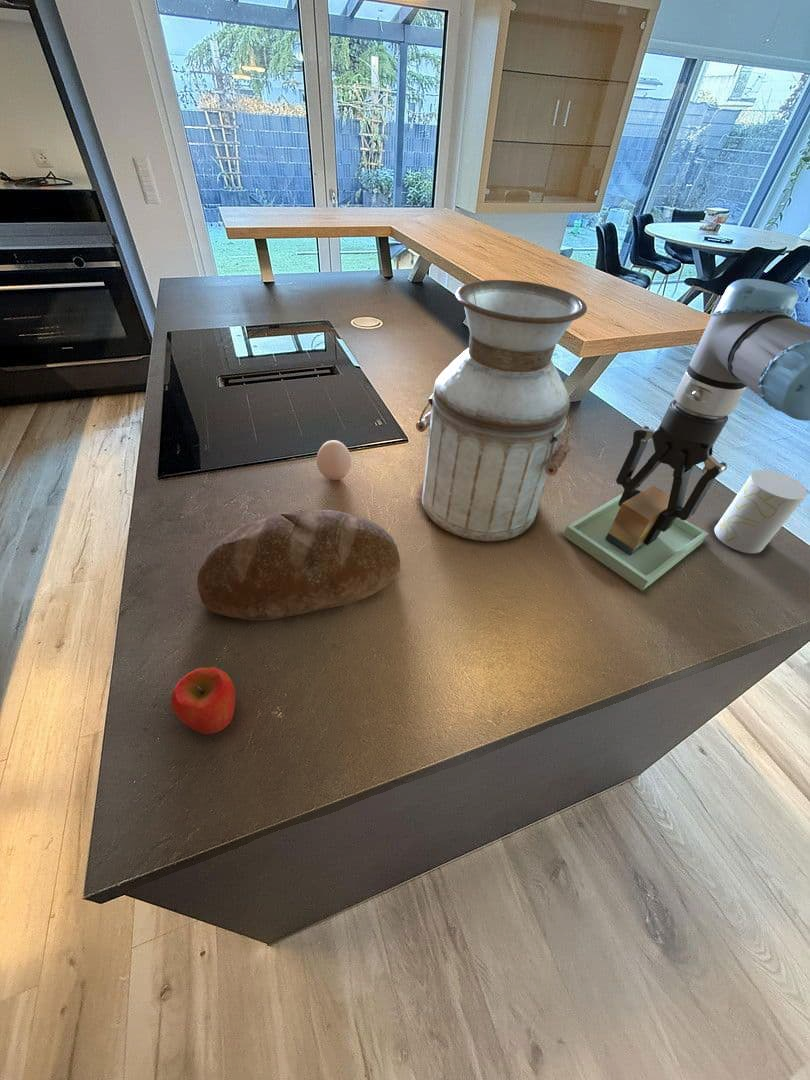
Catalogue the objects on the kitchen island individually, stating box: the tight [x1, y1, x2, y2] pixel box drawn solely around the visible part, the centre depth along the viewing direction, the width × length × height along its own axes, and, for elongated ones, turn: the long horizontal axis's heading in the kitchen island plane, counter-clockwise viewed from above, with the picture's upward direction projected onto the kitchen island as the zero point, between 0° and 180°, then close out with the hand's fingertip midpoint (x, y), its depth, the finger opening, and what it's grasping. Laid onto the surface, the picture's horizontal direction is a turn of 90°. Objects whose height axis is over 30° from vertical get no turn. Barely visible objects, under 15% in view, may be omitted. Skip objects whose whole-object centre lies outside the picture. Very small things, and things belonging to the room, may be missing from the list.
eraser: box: [605, 484, 670, 556], centre depth 78 cm, size 5×9×8 cm, turn 127°
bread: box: [196, 509, 401, 622], centre depth 67 cm, size 16×29×11 cm, turn 107°
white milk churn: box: [415, 279, 588, 542], centre depth 75 cm, size 25×22×36 cm
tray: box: [563, 492, 709, 592], centre depth 81 cm, size 16×20×2 cm
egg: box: [316, 439, 353, 481], centre depth 88 cm, size 7×7×8 cm
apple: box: [170, 666, 236, 735], centre depth 52 cm, size 6×6×8 cm
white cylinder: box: [714, 469, 808, 554], centre depth 80 cm, size 8×8×12 cm
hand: (634, 531), depth 80 cm, fingers closed on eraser, 5 cm apart
